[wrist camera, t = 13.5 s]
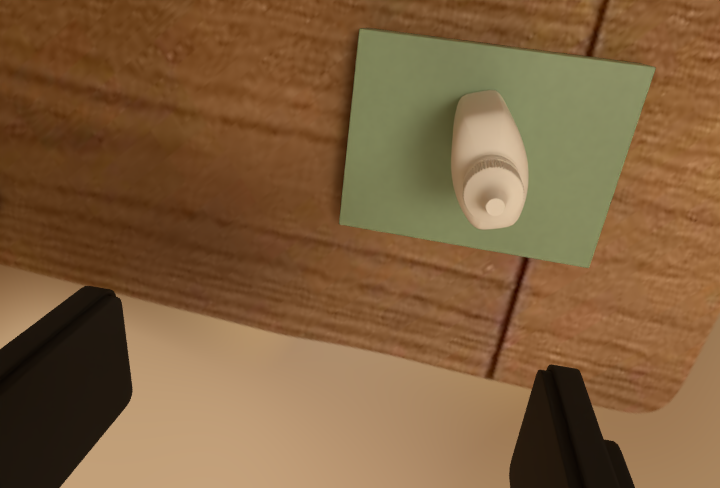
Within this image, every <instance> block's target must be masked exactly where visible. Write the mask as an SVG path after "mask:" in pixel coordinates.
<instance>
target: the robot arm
mask: <svg viewBox="0 0 720 488" xmlns="http://www.w3.org/2000/svg"><path fill="white" fill-rule="evenodd" d="M131 396H132V381H131V373H130V365H129V358H128V350H127V342H126V334H125V325H124V317H123V309H122V302H121V300H120V298H118V297H116V294H115V293H114V291H112V290H110V289H104V288H99V287H93V286H85V287H83V288H81V289H80V290H78V291H77V292H76V293H74V294H73V295H72V296H70V297H69V298H68V299H66V300H65V301H64V302H62V303H61V304H60V305H58V306H57V307H56V308H54V309H53V310H52V311H51V312H49V313H48V314H46V315H45V316H44V317H43V318H41V319H40V320H39V321H37V322H36V323H35V324H33V325H32V326H31V327H29V328H28V329H27V330H25V331H24V332H23V333H21V334H20V335H19V336H17V337H16V338H15V339H13V340H12V341H11V342H9V343H8V344H7V345H5V346H4V347H3V348H1V349H0V488H60V487H61V485H62V484H63V483H64V482H65V480H66V479H67V478H68V477H69V476H70V474H71V473H72V472H73V471H74V469H75V468H76V467H77V466H78V465H79V463H80V462H81V461H82V460H83V459H84V457H85V456H86V455H87V454H88V452H89V451H90V450H91V449H92V447H93V446H94V445H95V444H96V443H97V442H98V440H99V439H100V438H101V437H102V435H103V434H104V433H105V432H106V430H107V429H108V428H109V427H110V426H111V424H112V423H113V422H114V421H115V420H116V418H117V417H118V416H119V415H120V414H121V412H122V411H123V410H124V409H125V407H126V406H127V404H128V403H129V401H130V399H131ZM509 479H510V488H635V487H634V484H633V481H632V478H631V476H630V473H629V471H628V468H627V465H626V462H625V460H624V457H623V454H622V452H621V450H620V448H619V446H618V444H616V443H615V442H614V441H609V440H604V439H603V436H602V434H601V431H600V428H599V425H598V422H597V419H596V416H595V413H594V410H593V407H592V405H591V402H590V399H589V396H588V393H587V390H586V387H585V384H584V381H583V378H582V376H581V373H580V371H579V370H578V369H574V368H569V367H563V366H557V365H549V366H548V368H547V370H546V371H545V370H538V372H537V374H536V377H535V381H534V384H533V388H532V391H531V395H530V398H529V402H528V405H527V408H526V412H525V415H524V419H523V422H522V426H521V429H520V432H519V436H518V439H517V443H516V446H515V449H514V453H513V456H512V460H511V464H510V473H509Z"/></svg>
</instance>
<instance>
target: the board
mask: <svg viewBox="0 0 720 488" xmlns="http://www.w3.org/2000/svg"><path fill="white" fill-rule="evenodd" d="M655 69H656V67H653V66H649V65H645V64H641V63H634V62H627V61H619V60H611V59H604V58H596V57H588V56H581V55H573V54H565V53H558V52H550V51H542V50H534V49H527V48H519V47H511V46H504V45H496V44H488V43H481V42H473V41H465V40H458V39H450V38H442V37H435V36H427V35H419V34H412V33H404V32H396V31H389V30H381V29H373V28H361V29H359V37H358V47H357V56H356V66H355V76H354V85H353V95H352V104H351V114H350V123H349V133H348V142H347V152H346V162H345V171H344V181H343V190H342V200H341V209H340V219H339V224H340V225H346V226H352V227H357V228H363V229H369V230H374V231H380V232H386V233H392V234H397V235H403V236H409V237H414V238H420V239H426V240H431V241H437V242H443V243H449V244H454V245H460V246H466V247H471V248H477V249H483V250H488V251H494V252H500V253H506V254H511V255H517V256H523V257H528V258H534V259H540V260H546V261H551V262H557V263H563V264H568V265H574V266H580V267H585V268H589V266H590V263H591V260H592V257H593V254H594V251H595V248H596V245H597V242H598V239H599V236H600V233H601V230H602V227H603V224H604V221H605V218H606V215H607V212H608V209H609V206H610V203H611V200H612V197H613V194H614V191H615V188H616V185H617V182H618V179H619V176H620V173H621V170H622V167H623V164H624V161H625V158H626V155H627V152H628V149H629V146H630V143H631V140H632V137H633V134H634V131H635V128H636V125H637V122H638V119H639V116H640V113H641V110H642V108H643V105H644V102H645V99H646V96H647V93H648V90H649V87H650V84H651V81H652V78H653V75H654V72H655ZM487 90H495V91H497V92H498V93H499V94H500V95H501V96H502V98H503V99H504V101H505V103H506V105H507V107H508V109H509V111H510V113H511V115H512V117H513V120H514V122H515V124H516V126H517V128H518V131H519V133H520V135H521V138H522V141H523V144H524V147H525V151H526V156H527V161H528V175H529V176H528V190H527V195H526V200H525V203H524V206H523V209H522V212H521V214H520V216H519V218H518V220H517V221H516V222H515V223H514V224H513V225H511V226H509V227H504V228H498V229H487V230H482V229H477V228H476V227H474V226H473V225H472V224H471V223H470V222H469V221H468V219H467V218H466V216H465V214H464V213H463V211H462V209H461V207H460V205H459V202H458V200H457V197H456V194H455V191H454V186H453V181H452V173H451V151H452V138H453V125H454V118H455V113H456V109H457V105H458V102H459V100H460V99H461V97H462V96H464V95H466V94H470V93H475V92H480V91H487Z"/></svg>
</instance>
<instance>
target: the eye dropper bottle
mask: <svg viewBox="0 0 720 488" xmlns="http://www.w3.org/2000/svg"><path fill="white" fill-rule="evenodd" d="M451 173H452V181H453V186H454V191H455V194H456V197H457V200H458V202H459V205H460V207H461V209H462V211H463V213H464V214H465V216H466V218H467V219H468V221H469V222H470V223H471V224H472V225H473V226H474V227H476V228H477V229H482V230H487V229H498V228H504V227H509V226H511V225H513V224H514V223H515V222H516V221H517V220H518V218H519V216H520V214H521V212H522V209H523V206H524V203H525V200H526V195H527V190H528V176H529V175H528V161H527V156H526V151H525V147H524V144H523V141H522V138H521V135H520V133H519V131H518V128H517V126H516V124H515V122H514V120H513V117H512V115H511V113H510V111H509V109H508V107H507V105H506V103H505V101H504V99H503V98H502V96H501V95H500V94H499V93H498V92H497V91H495V90H487V91H480V92H475V93H470V94H466V95H464V96H462V97H461V99H460V100H459V102H458V105H457V109H456V113H455V118H454V125H453V138H452V151H451Z"/></svg>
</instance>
